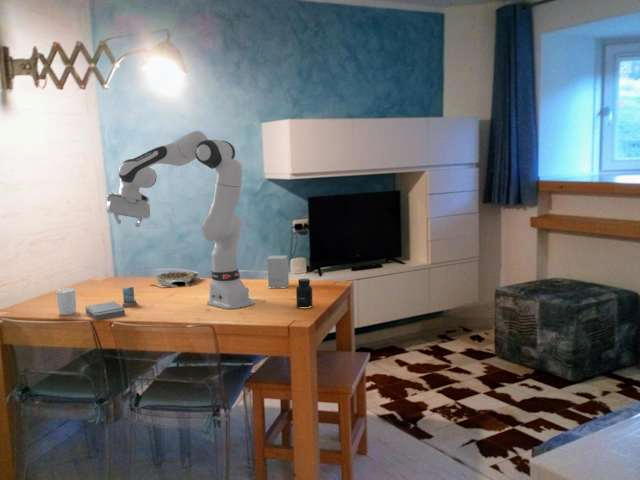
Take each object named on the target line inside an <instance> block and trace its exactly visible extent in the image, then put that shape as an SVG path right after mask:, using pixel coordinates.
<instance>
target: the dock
mask: <svg viewBox="0 0 640 480" xmlns="http://www.w3.org/2000/svg"><path fill="white" fill-rule="evenodd" d="M84 308H85V314H87V315H88V316H90V317H91V318H93V319H94V320H95V319H98V320H103V319H102V318H104V319H108V318H113V317H114V318H115V317H119V316H124V315H126V314H125V313H126V312H125V310H126V307H123V306H122V305H120V304H119V303H118V302H115V301H108V302H102V303H97V304H96V303H95V304H91V305H87V306H85V307H84Z"/></svg>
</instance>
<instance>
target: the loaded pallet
mask: <svg viewBox="0 0 640 480" xmlns="http://www.w3.org/2000/svg"><path fill="white" fill-rule="evenodd" d="M134 290H135V289H134V287H133V286H127V287H126V286H125V287H123V288H122V297H123V302H122V305H121V306H122V307H124V308H132V307H134V308H135V306H136V304H137V299H135V291H134Z"/></svg>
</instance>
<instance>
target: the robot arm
mask: <svg viewBox="0 0 640 480" xmlns="http://www.w3.org/2000/svg"><path fill="white" fill-rule="evenodd" d="M235 157H236V150H235V148H234V146H233V144H232V143H230V142H229V141H226V140H220V139H208V137H207V136H206V134H204V133H203V132H202V131H199V130H195V131H192V132H189V133H187V134H185V135H183V136H181V137H180V138H178V139H176V140H175V141H173V142H170V143H168V144H165V145H161V146H157V147H155V148H152V149H150V150H148V151H146V152H144V153H141V154H140V155H138V156H135V157H134V158H128V159H125V160H124V161H122V162H120V165H119V166H118V168H117V173H118V177H119V184H120V186H119V193H113V192H110V193H108V194H107V197H106V198H107V199H106V201H107V203H106V209H105V211H106V213H107V214H112V215H113V217H114V219H115V224H116V225H121V223H122V222H121V220H122V219H120V218H119V216H123V217H129V218H135V219H137V222H135V223H134V227H135V228H140V227H141V223H142V222H143V220H147V219H150V217H151V205H150V203H149V201H150V198H149V197H148V196H146V195H144V194H143V193H141V191H140V189H150V188H152V187H154V185H155V184H156V182H157V179H158V178H157V177H158V176H157V173H156V170H155V169H154V168H152V166H154V165H159V164H162V165H170V166H175V167H182V166H185V165H188V164H189V163H191V162H192V161H195V159H196V161H198V162H199V163H201V164H202V165H204V166H207V167H208V168H209V169H211V170H213V169H215V171H216V177H215V186H214V192H213V193H214V194H213V197H212V198H213V199H212V202H211V205H210V209H209V210H208V213H207V216H206V218H205V220H204V221H203V223H202V224H201V226H200V232H201V236H202V237H203V238H204V239H205V240H206V241H209V242H214V246H213V249H212V250H211V254H210V255H211V279H212V280H211V282H210V285H209V297H208V299H209V300H207V301H206V305H210V306H213V307H216V308H217V307H218V308H221V309H226V310H233V309H240V307H241V308H246V307H250V306H252V305H255V304H254V303H255V301H254V300H253V299H252V298H249V291H250V289H249V287H247V286H245V285H244V283H243V282H242V280H241V275H240V271H239V268H238V257H237V255H238V254H237V252H238V244H239V238H240V233H241V231H242V230H243V225H244V224H243V220H242V218H241V217H240V216H239V215H238V214H235V210H236V208H237V207H238V206H239V203H240V196H241V189H242V182H243V181H242V179H243V169H242V168H243V167H242V164H241V163H240V161H238V160H237V159H235ZM249 305H250V306H249ZM245 306H246V307H245Z"/></svg>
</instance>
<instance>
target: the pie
mask: <svg viewBox="0 0 640 480" xmlns="http://www.w3.org/2000/svg"><path fill="white" fill-rule="evenodd" d="M198 276H199V273H197V272H193V271H172V272H171V271H169V272H163V273H160V274H158V275H157V276H156V281H157V285H158V286H160V288H161V289H162V288H163V289H167V288H178V287H179V285H177V284H173V283H177V282H183V283H185V284H184V287H192V286H193V285H192V284H191V283H193V281H194V279H195V278H197V277H198ZM157 285H155V284H154V286H157ZM197 285H198V283H197V284H195V286H197Z"/></svg>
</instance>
